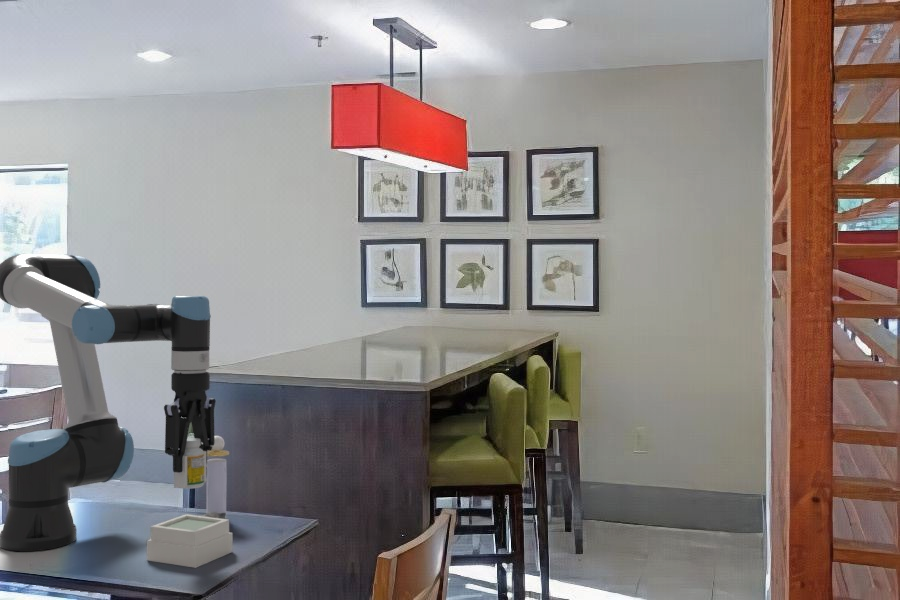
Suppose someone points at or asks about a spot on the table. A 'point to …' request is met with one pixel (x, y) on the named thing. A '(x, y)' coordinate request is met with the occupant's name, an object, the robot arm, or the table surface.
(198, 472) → the supplement bottle
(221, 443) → the perfume bottle
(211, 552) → the display pedestal
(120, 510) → the table surface
